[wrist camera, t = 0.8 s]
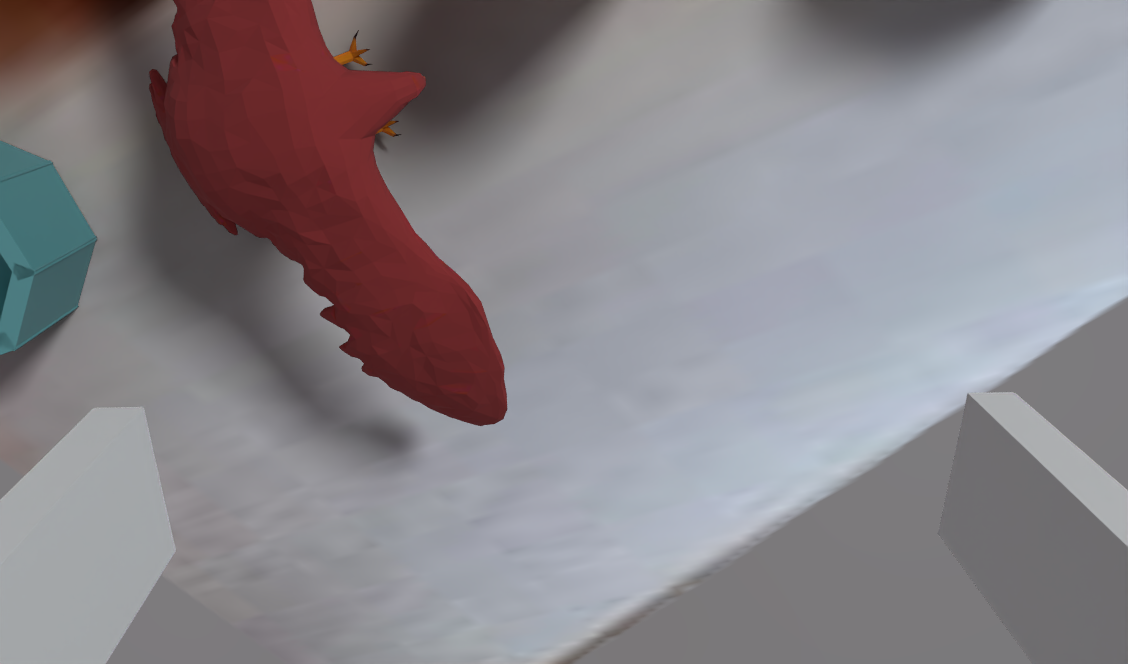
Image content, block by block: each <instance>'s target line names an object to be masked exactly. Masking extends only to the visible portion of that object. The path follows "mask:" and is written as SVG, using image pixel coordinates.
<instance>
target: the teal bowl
mask: <svg viewBox="0 0 1128 664" xmlns="http://www.w3.org/2000/svg"><path fill="white" fill-rule="evenodd" d="M96 240H97V237H96V236H95V235H94V233H93V232H92V230H91V228H90V227H89V225H88V223H87V221H86V220H85V218H84V216H83V215H82V213H81V211H80V210H79V208H78V206H77V205H76V203H75V201H74V200H73V198H72V196H71V194H70V193H69V191H68V189H67V188H66V186H65V184H64V183H63V181H62V179H61V178H60V176H59V174H58V173H57V171H56V169H55V167H54V166H53V162H51V161H50V160H49V161H48V160H45V159H43V158H41V157H38V156H36V155H33V154H31V153H29V152H26V151H24V150H21V149H19V148H17V147H14V146H12V145H9V144H7V143H5V142H2V141H0V355H2V354H4V353H7V352H10V351H16V350H17V349H19V348H20V347H21V346H23V345H24V344H26V343H27V342H29V341H30V340H32V339H33V338H35V337H36V336H37V335H39V334H40V333H42V332H43V331H45V330H46V329H48V328H49V327H51V326H52V325H53V324H55V323H56V322H58V321H59V320H61V319H62V318H64V317H65V316H67V315H68V314H69V313H71V312H72V311H74V310H75V309H77V307H79V306H78V302H79V299H80V295H81V291H82V288H83V284H84V281H85V277H86V274H87V270H88V266H89V263H90V259H91V256H92V252H93V249H94V245H95V241H96Z"/></svg>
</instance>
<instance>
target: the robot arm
mask: <svg viewBox="0 0 1128 664" xmlns="http://www.w3.org/2000/svg"><path fill="white" fill-rule="evenodd" d="M938 535H939V536H940V537H941V539H942V540H943V541H944V543H945V544H946V545H947V547H948V548H949V550H950V551H951V552H952V554H953V555H954V557H955V558H956V559H957V561H958V562H959V563H960V565H961V566H962V568H963V569H964V570H965V572H966V573H967V575H968V576H969V577H970V579H971V580H972V581H973V583H974V584H975V586H976V587H977V588H978V590H979V591H980V592H981V594H982V595H983V597H984V598H985V599H986V601H987V602H988V603H989V605H990V606H991V608H992V609H993V610H994V612H995V613H996V614H997V616H998V617H999V619H1000V620H1001V621H1002V623H1003V624H1004V625H1005V627H1006V628H1007V630H1008V631H1009V632H1010V634H1011V635H1012V636H1013V638H1014V639H1015V641H1016V642H1017V643H1018V645H1019V646H1020V647H1021V649H1022V650H1023V652H1024V653H1025V654H1026V656H1027V657H1028V659H1029V660H1030V661H1031V663H1032V664H1128V490H1127V489H1125V488H1124V487H1123V486H1122V485H1121V484H1120V483H1118V482H1117V481H1116V480H1115V479H1114V478H1113V477H1112V476H1110V475H1109V474H1108V473H1107V472H1106V471H1105V470H1104V469H1102V468H1101V467H1100V466H1099V465H1098V464H1097V463H1095V462H1094V461H1093V460H1092V459H1091V458H1090V457H1088V456H1087V455H1086V454H1085V453H1084V452H1083V451H1082V450H1080V449H1079V448H1078V447H1077V446H1076V445H1075V444H1074V443H1072V442H1071V441H1070V440H1069V439H1068V438H1066V437H1065V436H1064V435H1063V434H1062V433H1061V432H1060V431H1058V430H1057V429H1056V428H1055V427H1054V426H1053V425H1052V424H1050V423H1049V422H1048V421H1047V420H1046V419H1045V418H1043V417H1042V416H1041V415H1040V414H1039V413H1038V412H1037V411H1035V410H1034V409H1033V408H1032V407H1031V406H1029V405H1028V404H1027V403H1026V402H1025V401H1024V400H1022V399H1021V398H1020V397H1019V396H1018V395H1017V394H1016V393H1015V392H1004V393H1003V392H1002V393H968V394H967V399H966V404H965V408H964V413H963V418H962V423H961V428H960V432H959V437H958V441H957V446H956V451H955V456H954V460H953V465H952V470H951V475H950V480H949V484H948V489H947V494H946V498H945V503H944V508H943V512H942V517H941V522H940V527H939V531H938ZM175 551H176V549H175V545H174V540H173V536H172V531H171V527H170V523H169V518H168V514H167V509H166V505H165V500H164V496H163V491H162V487H161V482H160V478H159V474H158V469H157V465H156V460H155V456H154V451H153V447H152V442H151V438H150V434H149V429H148V425H147V420H146V416H145V411H144V407H116V408H93V409H92V410H91V411H90V412H89V413H88V414H87V415H86V416H85V417H84V418H83V419H82V420H81V421H80V422H79V423H78V424H77V425H76V426H75V427H74V428H73V429H72V430H71V431H70V432H69V433H68V434H67V435H66V436H65V437H64V438H63V439H62V440H61V441H60V442H59V443H58V444H57V445H56V446H55V447H54V448H53V449H52V450H51V451H49V452H48V453H47V454H46V455H45V456H44V457H43V458H42V459H41V460H40V461H39V462H38V463H37V464H36V465H35V466H34V467H33V468H32V469H31V470H30V471H29V472H28V473H27V474H26V475H25V476H24V477H23V478H22V479H21V480H20V481H19V482H18V483H17V484H16V485H15V486H14V487H13V488H12V489H11V490H10V491H9V492H8V493H7V494H6V495H5V496H4V497H3V498H2V499H1V500H0V664H106V662H107V661H108V659H109V657H110V656H111V654H112V652H113V651H114V649H115V648H116V646H117V644H118V643H119V641H120V640H121V638H122V636H123V635H124V633H125V632H126V630H127V628H128V627H129V625H130V624H131V622H132V620H133V619H134V617H135V616H136V614H137V612H138V611H139V609H140V607H141V606H142V604H143V603H144V601H145V599H146V598H147V596H148V595H149V593H150V591H151V590H152V588H153V586H154V585H155V583H156V582H157V580H158V579H159V577H160V575H161V574H162V572H163V571H164V569H165V567H166V566H167V564H168V562H169V561H170V559H171V558H172V556H173V554H174V553H175Z"/></svg>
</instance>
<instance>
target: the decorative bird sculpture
mask: <svg viewBox="0 0 1128 664" xmlns="http://www.w3.org/2000/svg"><path fill="white" fill-rule="evenodd" d="M173 1H174V3H175V4H176V6H177V13H176V15H175V19H174V22H173V24H172V30H173V34H174V38H175V45H176V51H177V55H175V56H173V57H172V60H171V62H170V67H169V74H168V81H167V83H166V82H165V81H164V79H163V78H162V76H161V75H160V74H159V72H158V71H157V70H155V69H152V70H151V71H150V72H149V74H150V79H151V83H150V84H149V90H150V92H151V97H152V101H153V105H154V108H155V111H156V117H157V119H158V122H159V124H160V125H161V127H162V131H163V134H164V138H165V140H166V142H167V144H168V146H169V148H170V151H171V155H172V157H173V159H174V161H175V163H176V164H177V166H178V168H179V170H180V172H181V173H182V175H183V176H184V178H185V179H186V181H187V183H188V184H189V186H190V187H191V189H192V190H193V191H194V193H195V194H196V195H197V197H198V199H199V200H200V202H201V203H202V204H203V206H205V207H206V209H207V210H208V212H209V213H210V214H211V216H212V217H213V218H214V219H215V220H216V221H217V222H218V224H220V225H223V226H224V227H225V228H226V229H227V230H228V231H229V232H230V233H232V234H234V235H238V232H237V228H236V224H237V225H239V226H240V227H242V228H244V229H245V230H247V231H248V232H250V233H252V234H253V235H255V236H257V237H259V238H268V239H270V240H271V242H272V243H273V245H274V246H276V248H277V249H278V250H279V251H280V252H281V253H282V254H283V255H285V256H286V257H288V258H289V259H291V260H293V261H296V262H298V263H300V264H302V265H303V268H304V278H303V280H304V282H305V284H306V285H308V286H309V287H310V288H311V289H312V290H313V291H314V292H316V293H317V294H318V295H320V296H323V297H326V298H327V299H328V300H329V301H330V302H332V303H333V304H334V305H333V306H330V307H327V308H325V309H323V310H322V311H321V313H320V315H321V316H322V317H323V318H325V319H326V320H328V321H330V322H332V323H333V324H335V325H337V326H339V327H340V328H343V329H345V330H346V331H347V332H348V333H349V334H350V337H349V339H348V342H346V343H344V344H342V345H341V346H340V347H339V348H340V349H341V350H342V351H344V352H345V353H347V354H348V355H350V356H352V357H355V358H358V359H360V360H361V361H362V362H363V363H364V365H363V366H362V371H363V372H365V373H366V374H367V375H369V376H374V377H379V378H380V379H381V380H383V381H384V382H385V383H386V384H387V385H388V386H389V387H390V388H392V389H394V390H397V391H399V392H402V393H403V394H405V395H406V396H408V397H409V398H411V399H412V400H415V401H418V402H420V403H422V404H423V405H425V406H427V407H428V408H430V409H432V410H435V411H437V412H439V413H442V414H444V415H446V416H449V417H451V418H455V419H458V420H461V421H464V422H467V423H471V424H474V425H478V426H483V425H489V424H495V423H497V422H499V421H501V420H502V419H504V416H505V413H506V411H507V394H506V388H505V383H504V369H505V367H504V364H503V360H502V357H501V354H500V352H499V349H498V347H497V345H496V343H495V341H494V339H493V336H492V333H491V330H490V327H489V324H488V321H487V318H486V315H485V312H484V309H483V306H482V303H481V301H480V300H479V298H478V297H477V296H476V294H475V293H474V292H473V290H472V289H471V288H470V286H469V285H468V284H467V283H466V282H465V281H464V280H463V279H462V278H461V277H460V276H459V275H458V274H457V273H456V272H455V271H453V270H452V269H451V268H450V267H449V266H448V265H446V264H445V263H444V262H443V261H442V260H441V259H439V258H438V257H437V256H436V255H435V253H434V252H433V251H432V250H431V249H430V247H429V246H428V245H427V244H426V243H425V242H424V241H423V240H422V239H421V238H420V237H419V236H418V235H417V234H416V233H415V231H414V230H413V228H412V227H411V225H410V223H409V222H408V220H407V218H406V217H405V215H404V213H403V212H402V210H401V208H400V207H399V205H398V204H397V202H396V201H395V199H394V198H393V196H392V194H391V193H390V191H389V190H388V188H387V186H386V184H385V182H384V180H383V178H382V176H381V174H380V172H379V170H378V167H377V165H376V160H375V156H374V152H373V148H374V141H375V134H377V133H379V132H384V133H387V134H389V135H391V136H393V137H394V136H398V135H402V134H395V133H394V132H393V131H392V130H391V129H390V128H389V127H388V126H389V125H392V124H394V123H396V122H398V121H390V120H392V119H393V118H394V117H395V116H396V115H397V114H398V113H399V112H400V111H401V110H402V109H403V108H404V107H405V106H406V105H407V104H408V103H409V102H410V101H411V100H412V99H414V98H416V97H417V96H418V95H419V94H420V92H421V91H422V90H423V88H424V87H425V86H426V79H425V77H424V76H422V75H421V73H415V72H408V71H405V72H402V73H401V72H385V71H357V70H349V69H347V68H346V67H344V66H342V65H343V64H346V63H349V62H352V61H354V62H356V63H358V64H361V65H363V66H367V65H371V64H367V63H366V62H365V61H364V60H363V59H362V58H361V57H360V56H359V55H360V54H362V53H364V52H366V51H368V50H370V49H363V50H357V48H356V36H357V33H358V31H359V30H358V31H357V33H356V34H355V36H354V37H353V40H352V44H351V47H350V50H349V51H348V52H345V53H343V54H340V55H338V56H335V57H333V56H332V55H331V53H330V51H329V50H328V48H327V47H326V45H325V42H324V40H323V37H322V35H321V32H320V30H319V26H318V23H317V19H316V16H315V12H314V9H313V5H312V2H311V0H173ZM235 223H236V224H235Z"/></svg>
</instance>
